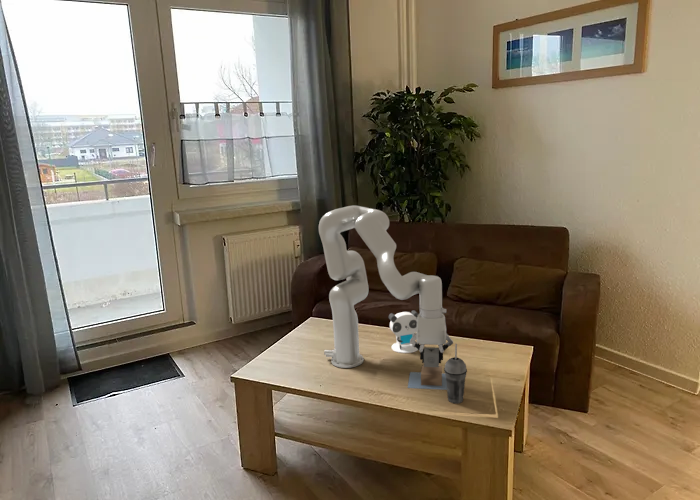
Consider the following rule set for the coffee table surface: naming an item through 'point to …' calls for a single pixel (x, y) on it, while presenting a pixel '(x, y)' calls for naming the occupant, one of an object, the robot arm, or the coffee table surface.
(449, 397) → the beverage cup
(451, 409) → the coffee table surface
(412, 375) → the blue board
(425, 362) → the grey symbol cube
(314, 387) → the coffee table surface
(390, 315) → the panda figurine
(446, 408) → the coffee table surface
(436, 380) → the light brown plinth
